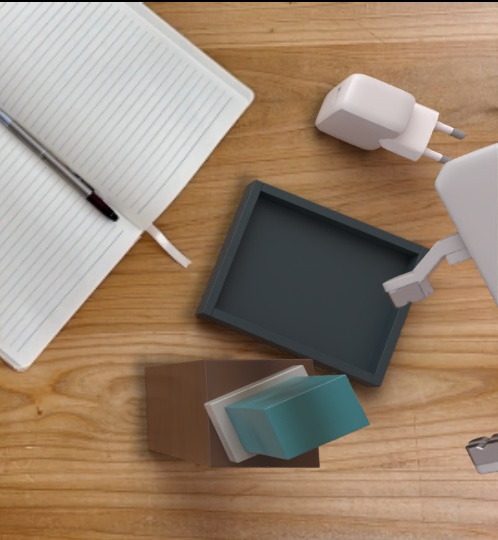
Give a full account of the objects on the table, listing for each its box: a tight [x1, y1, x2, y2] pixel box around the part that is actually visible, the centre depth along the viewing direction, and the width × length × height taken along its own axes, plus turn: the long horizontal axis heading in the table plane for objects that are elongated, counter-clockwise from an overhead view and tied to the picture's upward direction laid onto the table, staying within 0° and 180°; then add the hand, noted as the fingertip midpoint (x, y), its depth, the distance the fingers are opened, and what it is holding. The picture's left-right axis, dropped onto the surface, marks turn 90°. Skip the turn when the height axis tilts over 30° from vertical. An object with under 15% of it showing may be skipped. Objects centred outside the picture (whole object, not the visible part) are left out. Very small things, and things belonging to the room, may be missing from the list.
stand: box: [144, 358, 321, 469], centre depth 65 cm, size 7×7×18 cm
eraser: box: [204, 365, 371, 463], centre depth 52 cm, size 6×4×8 cm, turn 113°
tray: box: [194, 179, 431, 388], centre depth 74 cm, size 16×13×2 cm
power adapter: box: [314, 73, 467, 165], centre depth 73 cm, size 11×5×6 cm, turn 65°
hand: (431, 374), depth 46 cm, fingers open, 8 cm apart
